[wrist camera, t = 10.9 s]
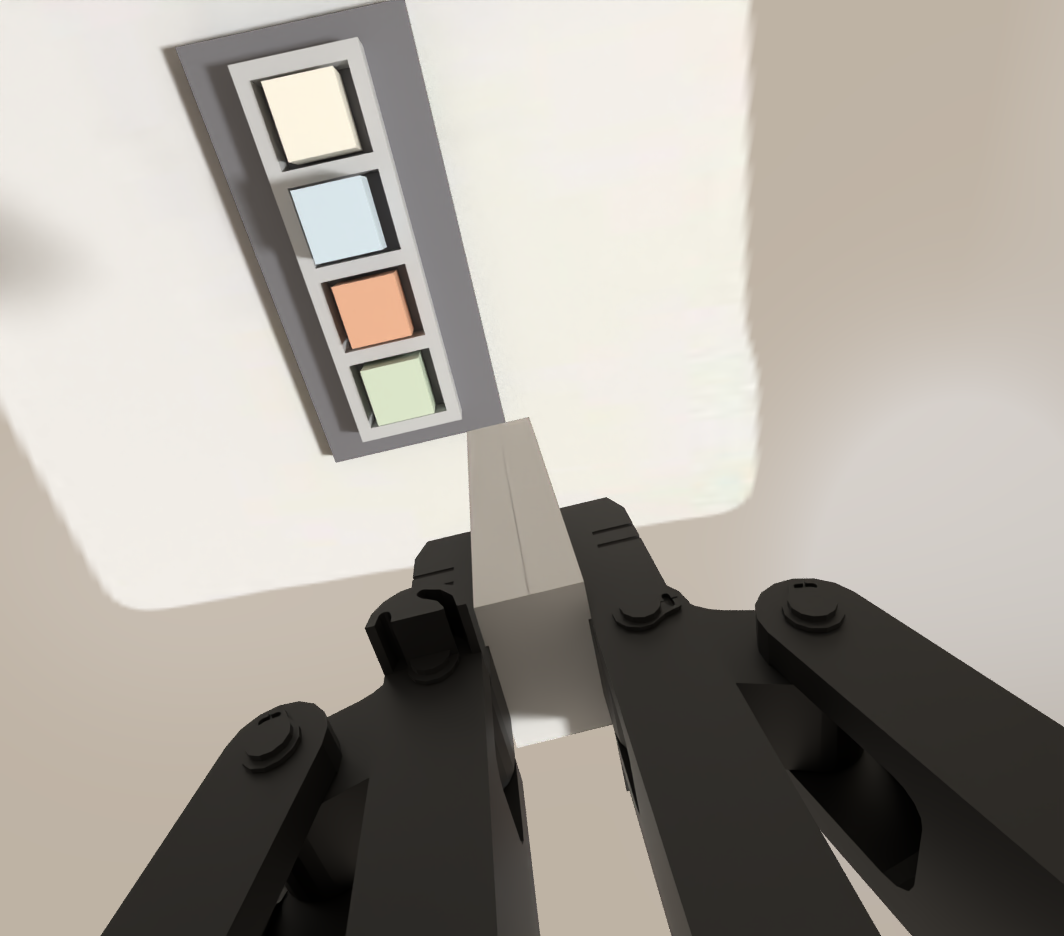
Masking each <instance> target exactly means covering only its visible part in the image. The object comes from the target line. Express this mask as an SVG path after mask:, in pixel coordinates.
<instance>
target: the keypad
mask: <svg viewBox="0 0 1064 936" xmlns="http://www.w3.org/2000/svg"><path fill="white" fill-rule="evenodd" d="M175 49H176V51H177V54H178V56H179V59H180V61H181V64H182V67H183V69H184V72H185V74H186V77H187V80H188V82H189V85H190V87H191V90H192V92H193V95H194V98H195V100H196V103H197V105H198V108H199V111H200V113H201V116H202V118H203V121H204V123H205V126H206V129H207V131H208V134H209V136H210V139H211V142H212V144H213V147H214V149H215V152H216V154H217V157H218V160H219V162H220V165H221V167H222V170H223V172H224V175H225V178H226V180H227V183H228V185H229V188H230V191H231V193H232V196H233V198H234V201H235V203H236V206H237V209H238V211H239V214H240V216H241V219H242V222H243V224H244V227H245V229H246V232H247V234H248V237H249V240H250V242H251V245H252V247H253V250H254V253H255V255H256V258H257V260H258V263H259V265H260V268H261V271H262V273H263V276H264V278H265V281H266V284H267V286H268V289H269V291H270V294H271V296H272V299H273V302H274V304H275V307H276V309H277V312H278V315H279V317H280V320H281V322H282V325H283V327H284V330H285V333H286V335H287V338H288V340H289V343H290V345H291V348H292V351H293V353H294V356H295V358H296V361H297V364H298V366H299V369H300V371H301V374H302V376H303V379H304V382H305V384H306V387H307V389H308V392H309V395H310V397H311V400H312V402H313V405H314V407H315V410H316V413H317V415H318V418H319V420H320V423H321V426H322V428H323V431H324V433H325V436H326V438H327V441H328V444H329V446H330V449H331V451H332V454H333V457H334V459H335V462H340V461H345V460H349V459H353V458H358V457H362V456H366V455H370V454H375V453H379V452H383V451H388V450H392V449H396V448H400V447H405V446H409V445H413V444H417V443H422V442H426V441H430V440H435V439H439V438H443V437H447V436H452V435H456V434H460V433H465V432H467V431H471V430H476V429H480V428H484V427H489V426H493V425H497V424H501V423H505V418H504V414H503V409H502V405H501V401H500V397H499V393H498V389H497V384H496V380H495V376H494V372H493V368H492V363H491V359H490V355H489V351H488V347H487V342H486V338H485V334H484V330H483V326H482V321H481V317H480V313H479V309H478V305H477V301H476V296H475V292H474V288H473V284H472V280H471V275H470V271H469V267H468V263H467V259H466V254H465V250H464V246H463V242H462V238H461V233H460V229H459V225H458V221H457V217H456V213H455V208H454V204H453V200H452V196H451V192H450V187H449V183H448V179H447V175H446V171H445V166H444V162H443V158H442V154H441V150H440V145H439V141H438V137H437V133H436V129H435V125H434V120H433V116H432V112H431V108H430V104H429V99H428V95H427V91H426V87H425V83H424V78H423V74H422V70H421V66H420V62H419V57H418V53H417V49H416V45H415V41H414V37H413V32H412V28H411V24H410V20H409V16H408V11H407V7H406V3H405V0H390V1H386V2H381V3H377V4H372V5H368V6H363V7H358V8H354V9H349V10H345V11H340V12H335V13H331V14H326V15H322V16H317V17H312V18H308V19H303V20H299V21H294V22H290V23H285V24H280V25H276V26H271V27H267V28H262V29H257V30H253V31H248V32H244V33H239V34H235V35H230V36H225V37H221V38H216V39H212V40H207V41H202V42H198V43H193V44H189V45H184V46H180V47H175ZM329 66H333V67H334V68H335V69H336V70H337V71H338V72H339V73H340V75H341V78H342V81H343V85H344V88H345V91H346V95H347V98H348V102H349V105H350V109H351V112H352V116H353V119H354V122H355V126H356V129H357V133H358V136H359V140H360V143H361V147H362V150H363V151H359V152H355V153H350V154H346V155H341V156H337V157H332V158H328V159H323V160H319V161H314V162H310V163H305V164H301V165H297V164H293V163H289V162H288V159H287V156H286V153H285V150H284V148H283V145H282V142H281V139H280V136H279V133H278V130H277V127H276V124H275V121H274V118H273V115H272V112H271V110H270V107H269V104H268V101H267V98H266V95H265V92H264V89H263V86H262V83H261V81H265V80H270V79H275V78H279V77H284V76H288V75H293V74H297V73H302V72H306V71H311V70H315V69H320V68H325V67H329ZM359 175H361V176H364V177H367V181H368V184H369V187H370V191H371V194H372V198H373V201H374V205H375V208H376V211H377V215H378V218H379V222H380V225H381V228H382V232H383V235H384V239H385V242H386V246H387V247H386V248H384V249H383V250H379V251H374V252H370V253H365V254H361V255H356V256H352V257H348V258H343V259H339V260H334V261H330V262H326V263H321V264H317V265H316V264H315V261H314V258H313V255H312V252H311V249H310V246H309V244H308V241H307V238H306V235H305V232H304V229H303V226H302V223H301V221H300V218H299V215H298V212H297V209H296V206H295V203H294V200H293V197H292V195H291V192H290V191H292V190H297V189H301V188H306V187H310V186H315V185H319V184H324V183H328V182H332V181H337V180H341V179H346V178H350V177H355V176H359ZM396 269H397V271H398V274H399V278H400V281H401V285H402V288H403V291H404V295H405V298H406V302H407V305H408V309H409V312H410V316H411V319H412V322H413V326H414V330H413V333H412V335H411V336H407V337H403V338H398V339H394V340H389V341H385V342H381V343H376V344H372V345H368V346H363V347H359V348H355V349H352V347H351V344H350V341H349V338H348V335H347V332H346V329H345V326H344V323H343V320H342V317H341V315H340V312H339V309H338V306H337V303H336V300H335V297H334V294H333V291H332V288H331V287H333V286H334V285H336V284H337V283H339V282H343V281H348V280H352V279H357V278H361V277H365V276H370V275H374V274H379V273H383V272H387V271H392V270H396ZM418 350H421V354H422V357H423V360H424V364H425V367H426V371H427V374H428V378H429V381H430V385H431V388H432V391H433V395H434V398H435V402H436V404H435V413H433V414H428V415H424V416H420V417H415V418H411V419H407V420H403V421H398V422H394V423H390V424H385V425H381V426H378V423H377V420H376V417H375V414H374V411H373V408H372V405H371V402H370V399H369V397H368V394H367V391H366V388H365V385H364V382H363V379H362V376H361V373H360V371H361V369H362V367H363V366H364V364H365V362H370V361H374V360H379V359H383V358H387V357H392V356H396V355H400V354H405V353H409V352H413V351H418Z"/></svg>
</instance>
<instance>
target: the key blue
mask: <svg viewBox="0 0 1064 936" xmlns="http://www.w3.org/2000/svg"><path fill="white" fill-rule="evenodd" d="M290 192H291V195H292V197H293V200H294V203H295V206H296V209H297V212H298V215H299V218H300V221H301V223H302V226H303V229H304V232H305V235H306V238H307V241H308V244H309V246H310V249H311V252H312V255H313V258H314V261H315V264H316V265H317V264H321V263H326V262H330V261H334V260H339V259H343V258H348V257H352V256H356V255H361V254H365V253H370V252H374V251H379V250H383V249H384V248H386V247H387V246H386V242H385V239H384V235H383V232H382V228H381V225H380V222H379V218H378V215H377V211H376V208H375V205H374V201H373V198H372V194H371V191H370V187H369V184H368V181H367V177H364V176H361V175H359V176H355V177H350V178H346V179H341V180H337V181H332V182H328V183H324V184H319V185H315V186H310V187H306V188H301V189H297V190H292V191H290Z"/></svg>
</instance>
